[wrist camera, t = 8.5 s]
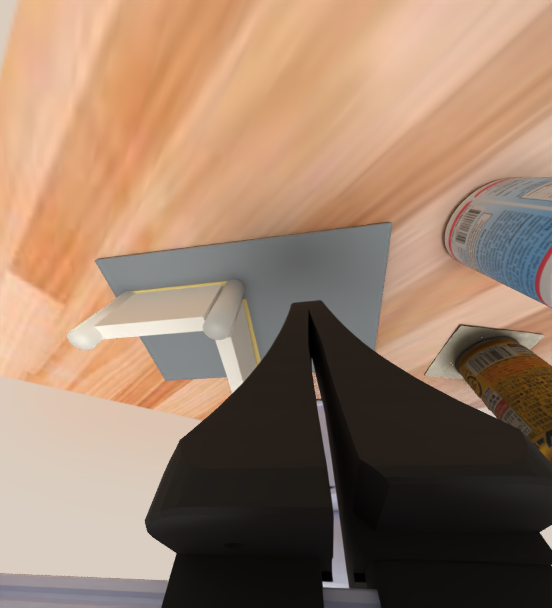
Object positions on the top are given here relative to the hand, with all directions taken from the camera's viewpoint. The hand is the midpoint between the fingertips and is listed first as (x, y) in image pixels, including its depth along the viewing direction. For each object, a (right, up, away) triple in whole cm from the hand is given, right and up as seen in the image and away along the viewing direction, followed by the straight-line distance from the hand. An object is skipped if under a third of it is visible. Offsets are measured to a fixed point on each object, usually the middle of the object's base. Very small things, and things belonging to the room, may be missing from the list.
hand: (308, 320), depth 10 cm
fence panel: (-5, -3, +13) cm, 14 cm away
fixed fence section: (-10, +2, +10) cm, 14 cm away
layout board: (-4, -1, +12) cm, 12 cm away
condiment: (+20, -5, +13) cm, 25 cm away
